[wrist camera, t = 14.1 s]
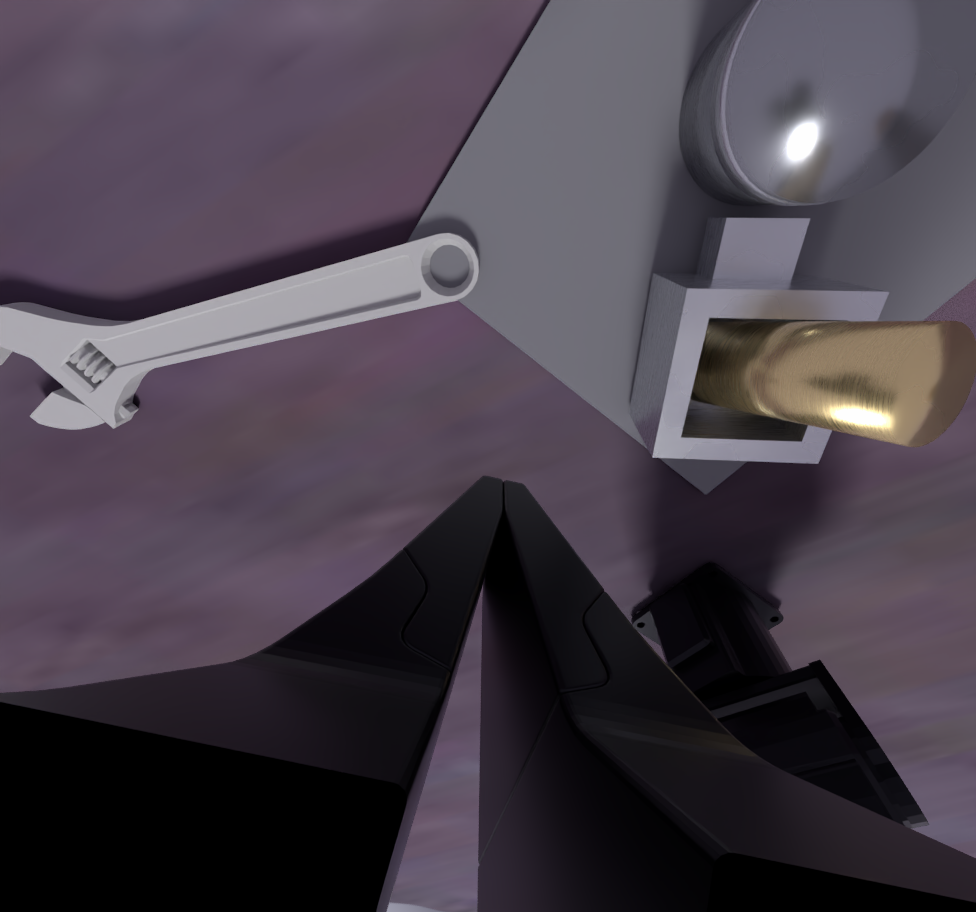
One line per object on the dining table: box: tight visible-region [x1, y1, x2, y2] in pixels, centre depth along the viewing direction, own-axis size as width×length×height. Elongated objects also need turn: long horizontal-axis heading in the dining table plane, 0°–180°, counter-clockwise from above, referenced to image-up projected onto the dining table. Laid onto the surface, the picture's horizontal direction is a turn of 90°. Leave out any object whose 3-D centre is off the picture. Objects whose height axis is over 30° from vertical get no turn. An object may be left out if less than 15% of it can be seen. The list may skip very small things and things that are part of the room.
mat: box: [406, 0, 976, 495], centre depth 17 cm, size 19×18×1 cm
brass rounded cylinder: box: [690, 321, 976, 447], centre depth 15 cm, size 3×3×8 cm
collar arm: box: [629, 217, 889, 464], centre depth 14 cm, size 20×6×4 cm, turn 0°
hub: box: [679, 0, 976, 206], centre depth 14 cm, size 6×6×5 cm
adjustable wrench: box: [0, 233, 480, 429], centre depth 21 cm, size 25×6×2 cm, turn 99°
